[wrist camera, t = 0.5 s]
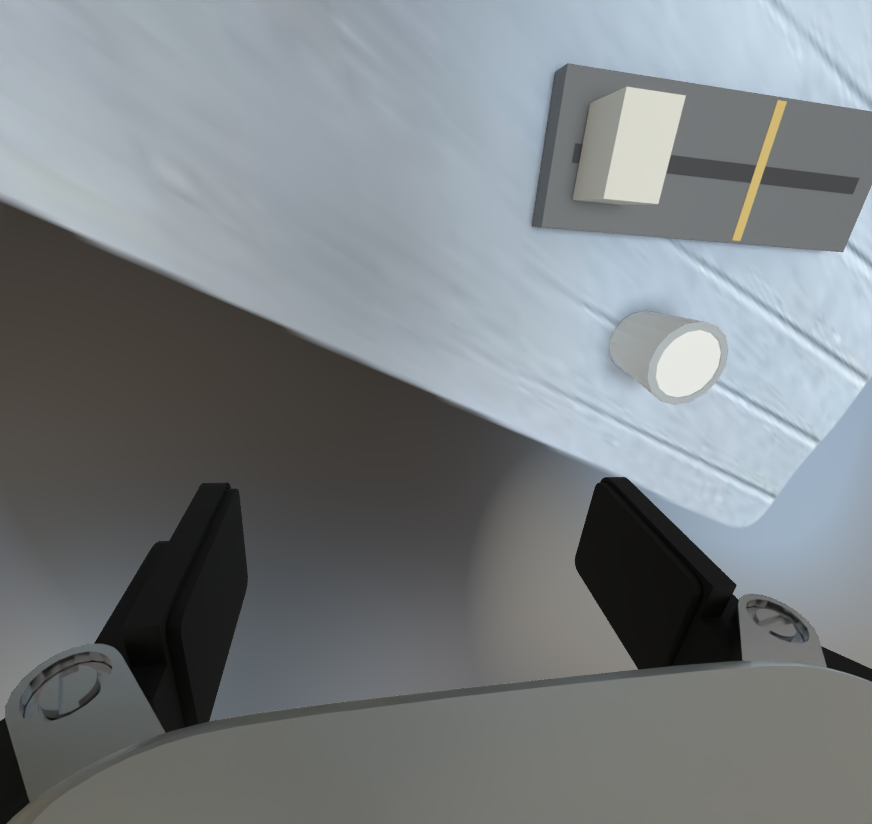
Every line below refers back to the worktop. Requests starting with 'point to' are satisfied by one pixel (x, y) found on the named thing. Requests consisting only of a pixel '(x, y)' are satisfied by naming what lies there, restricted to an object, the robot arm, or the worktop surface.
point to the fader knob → (627, 146)
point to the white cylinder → (669, 354)
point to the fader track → (719, 166)
